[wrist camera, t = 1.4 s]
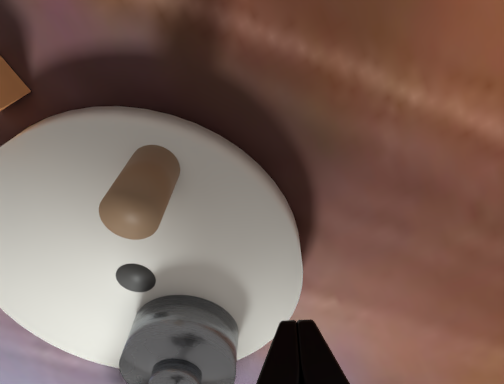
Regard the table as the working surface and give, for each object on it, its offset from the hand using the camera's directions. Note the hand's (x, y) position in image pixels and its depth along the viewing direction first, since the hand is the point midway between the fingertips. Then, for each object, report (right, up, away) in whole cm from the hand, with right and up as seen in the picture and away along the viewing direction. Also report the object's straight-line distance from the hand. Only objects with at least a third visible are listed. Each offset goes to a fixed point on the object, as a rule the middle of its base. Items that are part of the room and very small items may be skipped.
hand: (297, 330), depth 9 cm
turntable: (-8, 0, +15) cm, 17 cm away
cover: (-6, -6, +15) cm, 17 cm away
